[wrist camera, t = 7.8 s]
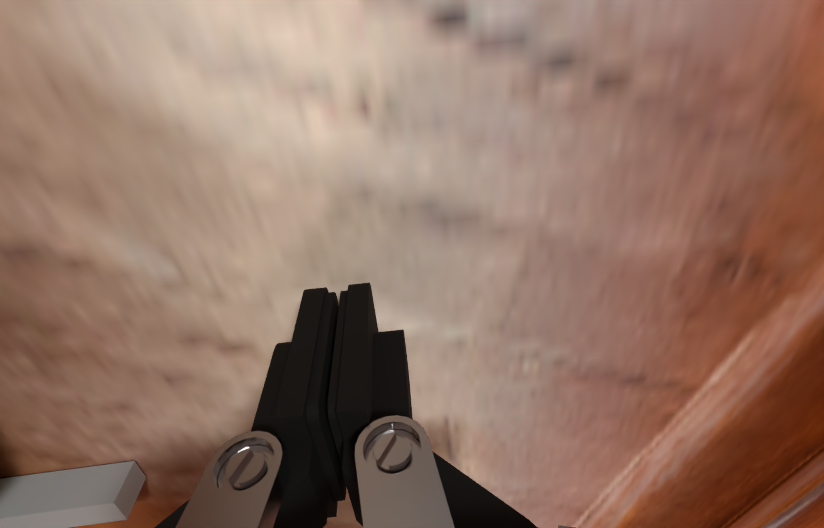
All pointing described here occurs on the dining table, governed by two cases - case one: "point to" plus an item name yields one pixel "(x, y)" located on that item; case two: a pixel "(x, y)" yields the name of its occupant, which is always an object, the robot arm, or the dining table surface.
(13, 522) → the overhang shelf
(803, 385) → the dining table surface
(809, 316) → the dining table surface
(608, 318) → the dining table surface
